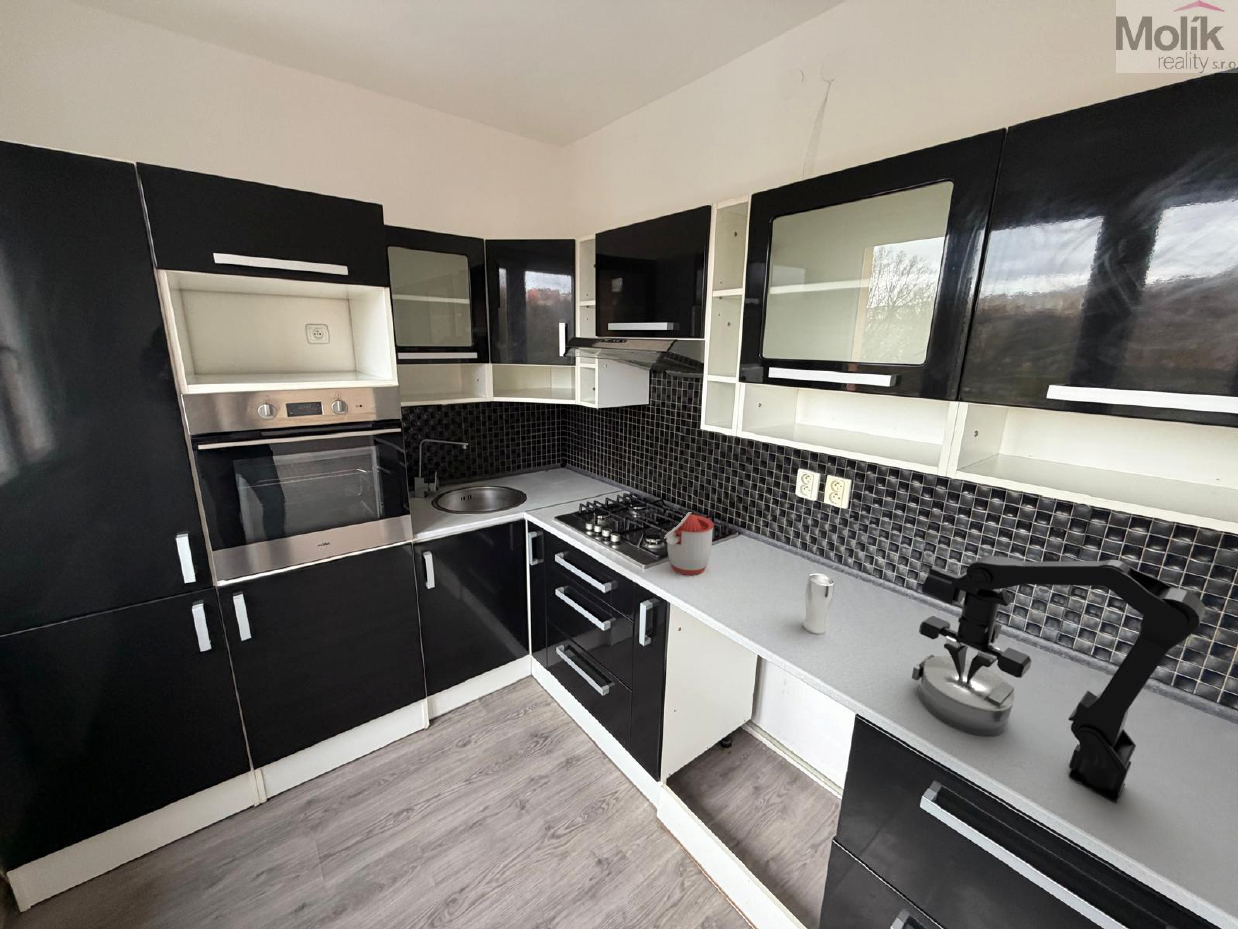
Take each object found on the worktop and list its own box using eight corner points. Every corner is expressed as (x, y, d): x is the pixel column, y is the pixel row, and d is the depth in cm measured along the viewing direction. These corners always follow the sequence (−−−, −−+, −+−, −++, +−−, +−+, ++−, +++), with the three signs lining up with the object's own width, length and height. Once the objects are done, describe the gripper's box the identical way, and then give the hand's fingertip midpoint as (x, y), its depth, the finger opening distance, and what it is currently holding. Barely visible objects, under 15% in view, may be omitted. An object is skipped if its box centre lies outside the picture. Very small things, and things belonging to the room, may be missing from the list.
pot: (1018, 714, 104) (1024, 691, 103) (989, 749, 95) (996, 724, 94) (931, 670, 118) (936, 649, 116) (899, 697, 109) (904, 674, 107)
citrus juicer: (652, 566, 168) (654, 513, 163) (687, 554, 178) (690, 503, 173) (684, 585, 156) (687, 527, 151) (720, 570, 166) (724, 516, 161)
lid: (1024, 690, 102) (1027, 682, 102) (996, 723, 94) (998, 715, 93) (939, 650, 115) (941, 642, 115) (907, 675, 107) (909, 667, 106)
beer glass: (832, 635, 131) (839, 585, 127) (807, 635, 131) (813, 585, 127) (821, 620, 138) (828, 573, 134) (797, 620, 138) (803, 572, 134)
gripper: (1047, 623, 98) (1031, 688, 102) (945, 585, 112) (934, 644, 116) (1029, 642, 91) (1012, 710, 95) (923, 599, 106) (912, 661, 110)
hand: (964, 678), depth 104 cm, fingers closed on lid
